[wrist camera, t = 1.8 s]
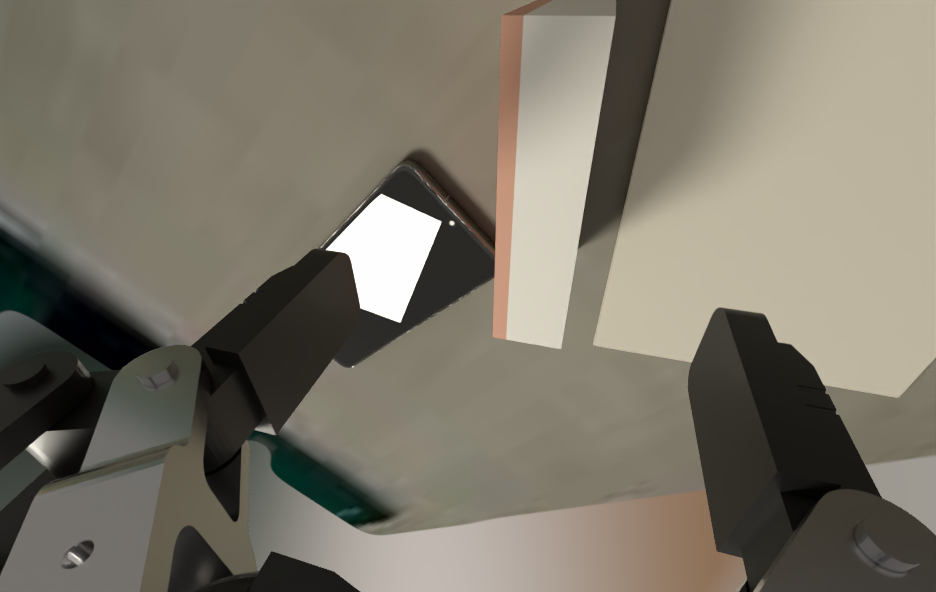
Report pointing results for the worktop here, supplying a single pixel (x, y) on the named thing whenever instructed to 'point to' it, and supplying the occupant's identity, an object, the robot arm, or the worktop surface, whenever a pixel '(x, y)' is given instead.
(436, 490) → the worktop surface
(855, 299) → the mat
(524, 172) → the block
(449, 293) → the smartphone
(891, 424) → the worktop surface
